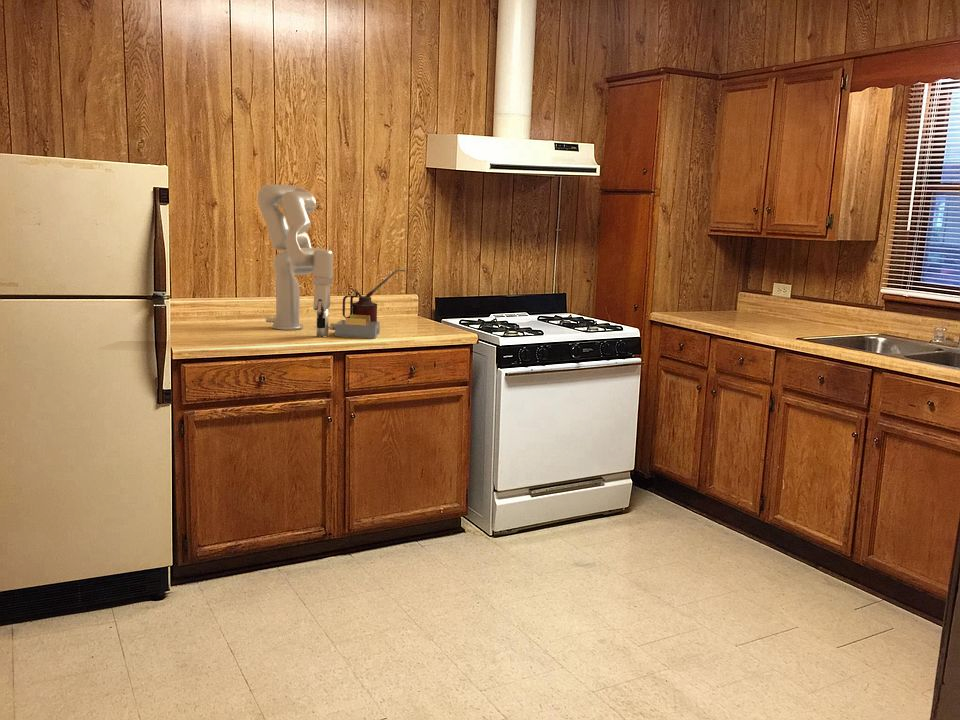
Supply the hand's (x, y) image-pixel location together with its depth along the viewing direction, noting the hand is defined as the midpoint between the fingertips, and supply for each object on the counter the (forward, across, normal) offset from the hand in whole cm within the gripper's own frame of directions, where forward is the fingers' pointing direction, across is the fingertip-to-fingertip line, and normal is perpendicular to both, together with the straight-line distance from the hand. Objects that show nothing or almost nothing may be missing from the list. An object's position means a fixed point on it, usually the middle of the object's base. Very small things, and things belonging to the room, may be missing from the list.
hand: (322, 326), depth 334 cm
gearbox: (+4, -7, +11) cm, 14 cm away
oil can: (+4, -33, +16) cm, 37 cm away
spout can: (+4, 0, 0) cm, 4 cm away
